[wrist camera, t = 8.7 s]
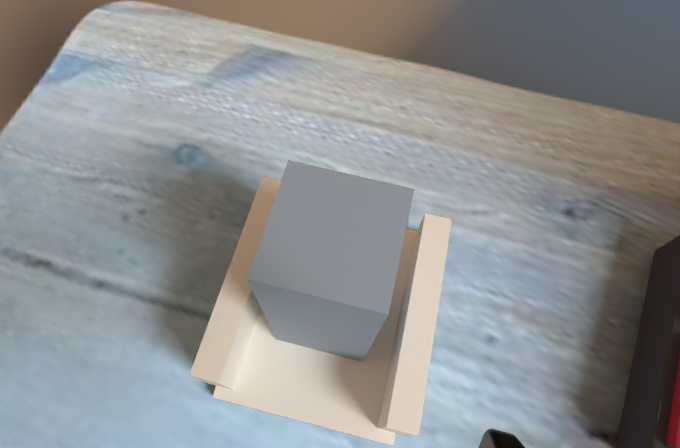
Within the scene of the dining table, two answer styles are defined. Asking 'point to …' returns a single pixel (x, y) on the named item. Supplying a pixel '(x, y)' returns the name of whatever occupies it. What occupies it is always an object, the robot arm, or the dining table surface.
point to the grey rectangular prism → (330, 258)
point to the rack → (320, 367)
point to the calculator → (656, 361)
